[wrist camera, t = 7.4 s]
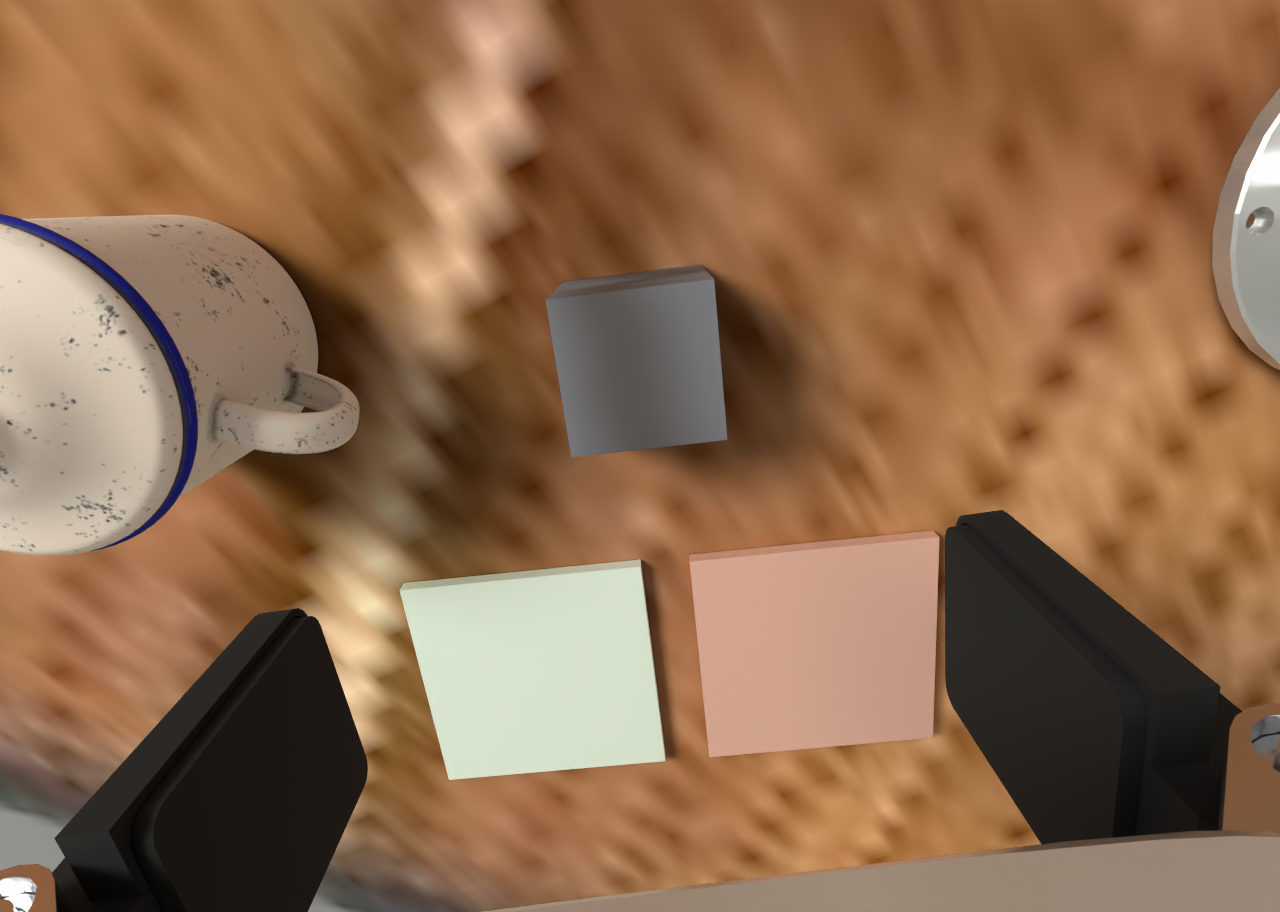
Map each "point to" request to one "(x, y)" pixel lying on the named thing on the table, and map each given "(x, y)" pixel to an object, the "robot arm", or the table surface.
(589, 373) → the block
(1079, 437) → the table surface
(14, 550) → the teacup with lid
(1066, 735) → the robot arm
